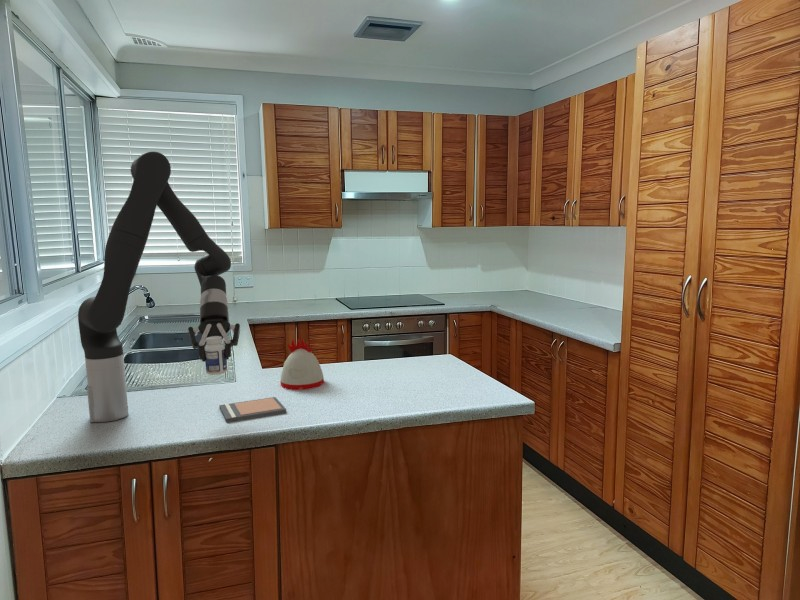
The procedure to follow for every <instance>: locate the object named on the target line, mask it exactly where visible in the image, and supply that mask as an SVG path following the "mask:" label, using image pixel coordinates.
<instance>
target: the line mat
mask: <svg viewBox="0 0 800 600" xmlns="http://www.w3.org/2000/svg"><path fill="white" fill-rule="evenodd" d="M218 405H219V407H218V408H219V411H220V412H221V415H222V416H223V418H224V421H225V422H226V423H231V422H238V421H242V420H243V421H244V420H249V419H250V420H251V419H256V418H261V417H268V416H274V415H275V416H276V415H281V414H287V408H286V407H285V406H284V405H283V404H282V403H281V401H280V400H279V399H278V398H277V397H276V396H272V397H265V398H258V399H251V400H245V401H239V402H234V403H233V402H232V403H225V404H224V403H223V404H218Z"/></svg>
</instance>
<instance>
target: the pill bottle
mask: <svg viewBox="0 0 800 600" xmlns="http://www.w3.org/2000/svg"><path fill="white" fill-rule="evenodd" d="M206 342H207V345H206V346H205V348H204V351H205V372H206V374H207V375H210V376H215V375H221V374H225V373H226V372H227V371H228V366H227V360H226V355H225V344H224V343H223V341H222V337H221V336H212V337H208V338H206Z"/></svg>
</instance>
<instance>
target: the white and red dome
mask: <svg viewBox="0 0 800 600" xmlns="http://www.w3.org/2000/svg"><path fill="white" fill-rule="evenodd" d="M287 346H288V348H289V350H290V354H289V355H288V357H287V358H286V359H285V360H284V361H283V367H282V370H281V373H280V374H281V375H280V387H281V386H282V388H283V389H285V388H286V389H285V390H290V389H292V390H293V391H302V390H310V389H311V390H312V389H315V388H319V387H321V386H323V385H324V383H325V381H324V373H323V370H322V367H321V364H320V362H319V360H318V358H317V357H316V356H315V354H314V353H312V350H313V348H314V347H313V345H312V346H311V347H310V348H309V342H307V343H306V344H305V340H304V338H302V339H301V344H300V339H299V338H298V339H297V341H296V343H295V341H294V339H291V344H290V343H288V342H287Z"/></svg>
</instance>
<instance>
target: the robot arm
mask: <svg viewBox="0 0 800 600" xmlns="http://www.w3.org/2000/svg"><path fill="white" fill-rule="evenodd" d="M171 173H172V167H171V164H170V160H169V159H168V157H167V156H166V155H164V154H163V153H161V152H159V151H156V150H155V151H153V150H152V151H147V152H144V153H141V155H139V156H137V157H136V158H135V159H134V160H133V161H132V162H131V165H130V174H131V177H132V178H133V181H132V184H131V185H132V186H131V187H130V191H129V194H128V197H127V199H126V201H125V202H124V204H123V205H122V207H121V209H120V210H119V211H118V214H117V216H116V218H115V220H114V222H113V224H112V227H111V230H110V232H109V235H108V237H107V241H106V245H105V249H104V258H103V259H104V261H103V276H102V280H101V282H100V285H99V288H98V291H97V293H96V295H95V296H91V297H88V298H86V299H85V300H83V302H81V304H80V306H79V308H78V313H77V320H78V321H77V322H78V331H79V336H80V337H79V338H80V343H81V347H82V350H83V352H84V361H85V370H86V371H85V372H86V382H87V383H86V384H87V388H86V392H87V402H88V413H89V422H90V423H106V422H107V423H108V422H115V421H117V420H120V419H123V418H126V417H127V416H129V405H128V404H129V403H128V392H127V381H126V369H125V360H124V347H123V343H122V342H121V341H120V338H119V335H118V331H117V329H118V328H119V327H120V325H121V324H122V322H123V320H124V317H125V314H126V311H127V310H126V308H127V303H128V300H129V296H130V295H129V294H130V291H131V288H132V287H131V286H132V284H133V282H134V279H135V276H136V273H137V270H138V267H139V264H140V261H141V259H142V256H143V253H144V251H145V247H146V245H147V241H148V238H149V235H150V232H151V228H152V224H153V221H154V218H155V214H156V213H155V212H156V208H159V210H160V211H161V212H162V214H163V215H164V217H166V219H167V220H168V222H169V223H170V225H171V226H172V228H173V229H174V231H175V233H176V234H177V235H178V237H179V238H180V240H181V241H182V242H183V244H184V246H185V247H186V249H187V250H188V251H189V252H191V253H194V252H200V251H201V252H202V251H203V252H205V253H206V254H205V255H203V256H202V257H199V258H198V259H196V261H195V263H194V266H193V267H194V272H195V274H196V277H197V279H198V283H199V284H200V285H199V286H200V300H199V325H198V326H197V327H193V326H189V327H188V329H187V330H188V335H189V339H190V342H191V347H192V349H193V350H196V349H197V350H198V357H199V360H200V361H202V363H204V362H205V351H204V348H205V346H207V345H208V344H207V342H206V338H208V337H212V336H221V337H222V344H223V345H225V355H226V361H227V360H229V358H231V357H232V347H236V346H237V347H238V343H239V338H240V334H241V333H240V332H241V327H240V326H241V325H240V323H235V324H231V323H230V322H229V304H228V303H229V302H228V298H227V285H226V281H225V279H224V278H223V277H222V276H220V275H222V274H224V273H226V272H228V271H229V270H230V269H231V267H232V261H231V258H230V256H229V254H228V253H227V252H226V251H225V250H223V248H221V247H220V246H219V245H218V244H217V243H216V242H215V241H214V240H213V239H212V238H211V237H210V236H209V235H208V233H207V232H206V230H205V229H204V227H203V226H202V224H201V222H200V221H199V220H198V219H197V217H196V216H195V215H194V213H193V212H192V211H191V210H190V209H189V208H188V207H187V206H186V205H185V204H184V203H183V201H181V199H180V198H179V197H178V196H177V195H176V193H175V192H174V190H173V189H172V187H171V185H170V183H169V179H170V177H171ZM229 331H231V332H232V333H233V335H232V336H233V337H232V339H230V338H229V336H228V333H229ZM198 333H200V334H201V339H200V340H199V342H198V341H197V339H196V336H198Z"/></svg>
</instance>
